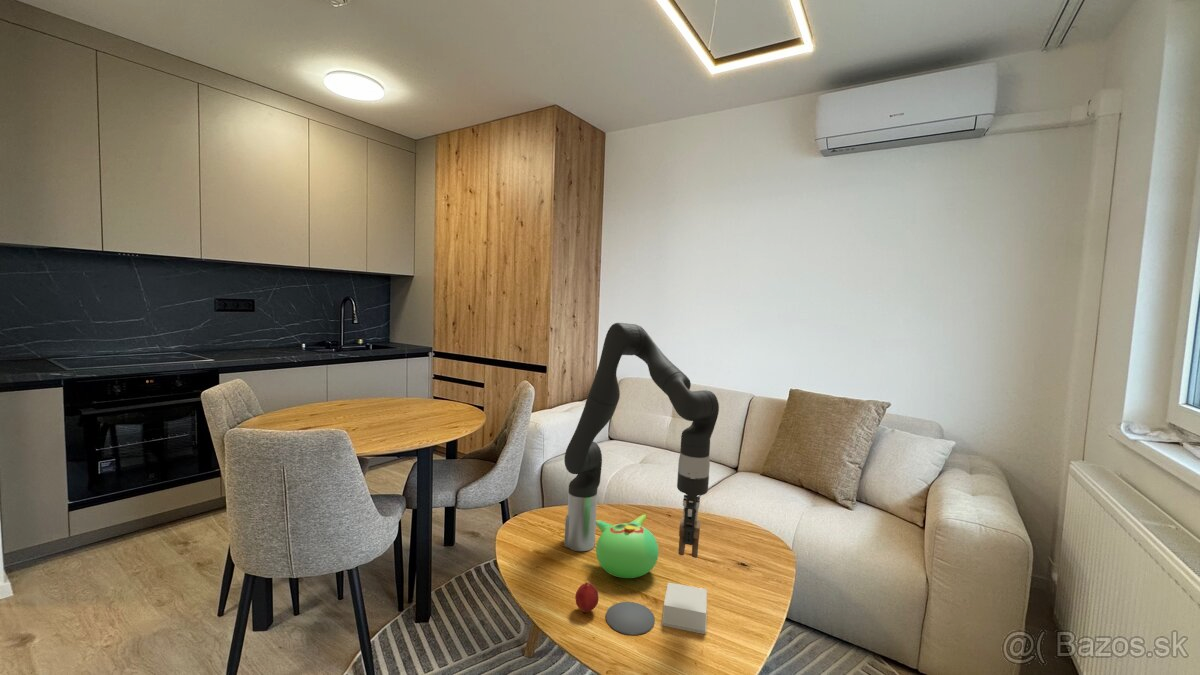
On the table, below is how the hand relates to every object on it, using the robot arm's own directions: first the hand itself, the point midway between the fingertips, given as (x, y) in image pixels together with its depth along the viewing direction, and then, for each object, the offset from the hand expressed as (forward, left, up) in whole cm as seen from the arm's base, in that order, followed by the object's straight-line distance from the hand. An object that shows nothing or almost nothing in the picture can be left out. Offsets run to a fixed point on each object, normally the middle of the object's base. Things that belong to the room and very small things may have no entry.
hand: (689, 538), depth 115 cm
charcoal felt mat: (-13, -5, -20) cm, 24 cm away
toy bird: (-18, +15, -20) cm, 31 cm away
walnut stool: (0, 0, -3) cm, 3 cm away
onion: (-24, -6, -20) cm, 32 cm away
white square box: (0, 0, -20) cm, 20 cm away
